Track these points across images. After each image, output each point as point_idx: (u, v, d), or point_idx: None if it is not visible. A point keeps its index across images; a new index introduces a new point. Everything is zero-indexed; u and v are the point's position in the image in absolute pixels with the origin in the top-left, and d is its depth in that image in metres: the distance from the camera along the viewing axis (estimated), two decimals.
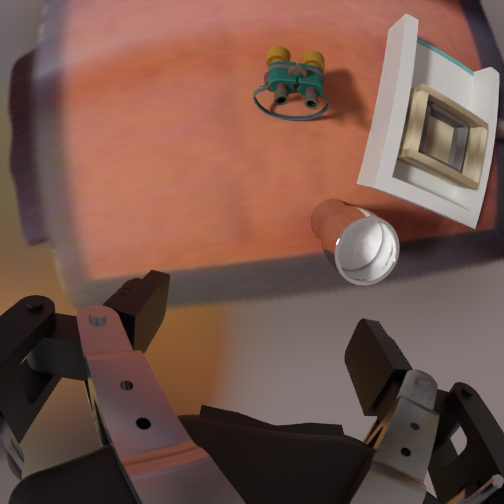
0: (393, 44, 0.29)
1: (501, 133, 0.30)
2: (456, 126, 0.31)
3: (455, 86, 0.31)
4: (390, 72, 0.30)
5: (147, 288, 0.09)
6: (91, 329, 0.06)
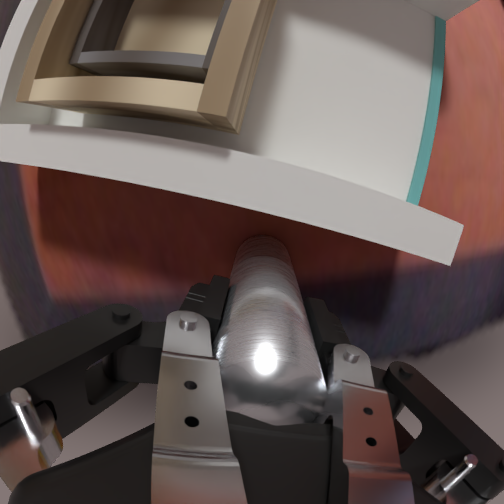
0: None
1: (237, 270, 0.13)
2: None
3: (357, 120, 0.14)
4: None
5: (218, 293, 0.10)
6: (187, 334, 0.07)
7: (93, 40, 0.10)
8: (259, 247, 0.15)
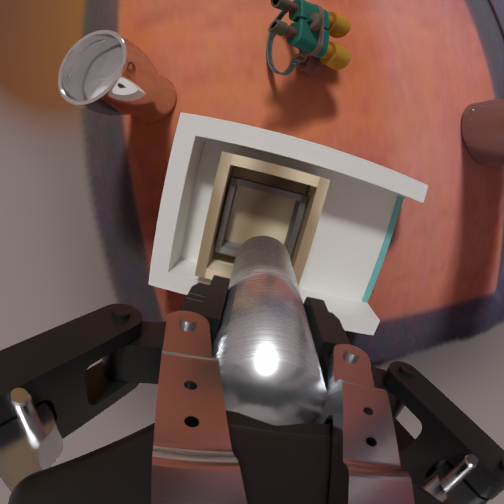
0: None
1: (237, 270, 0.13)
2: None
3: (341, 267, 0.34)
4: None
5: (218, 293, 0.10)
6: (188, 334, 0.07)
7: (223, 237, 0.30)
8: (259, 247, 0.15)
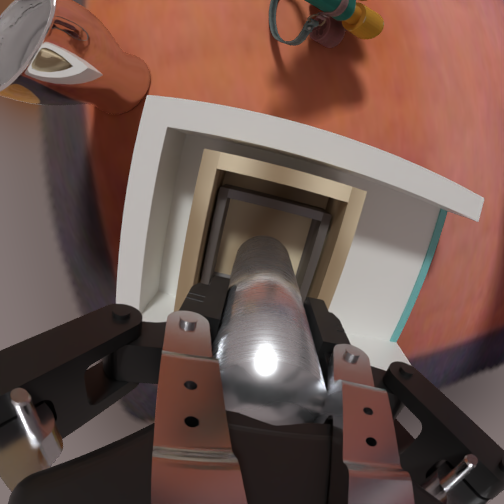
0: None
1: (237, 270, 0.13)
2: None
3: (368, 302, 0.26)
4: None
5: (218, 293, 0.10)
6: (188, 334, 0.07)
7: (211, 271, 0.21)
8: (259, 247, 0.15)
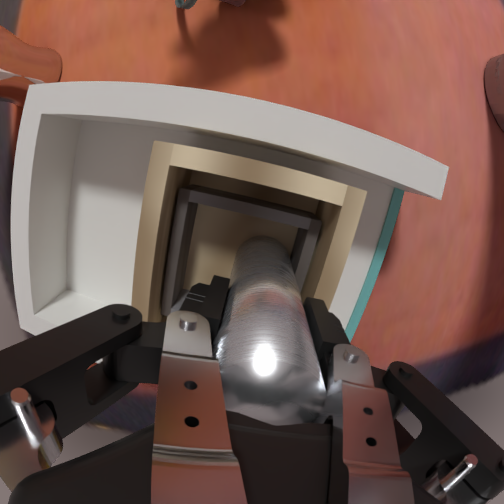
0: None
1: (237, 270, 0.13)
2: None
3: None
4: None
5: (218, 293, 0.10)
6: (188, 334, 0.07)
7: (175, 290, 0.17)
8: (259, 247, 0.15)
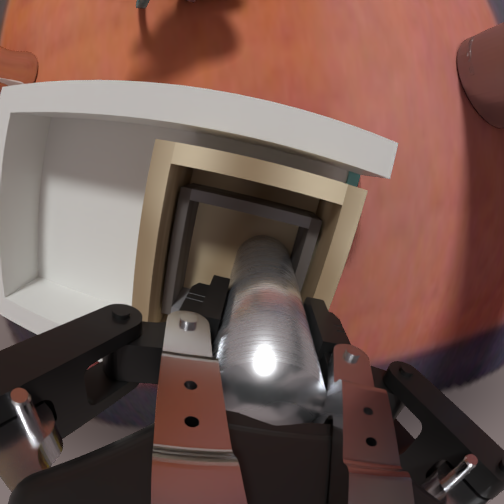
0: None
1: (237, 270, 0.13)
2: None
3: None
4: None
5: (219, 293, 0.10)
6: (188, 334, 0.07)
7: (176, 289, 0.17)
8: (259, 247, 0.15)
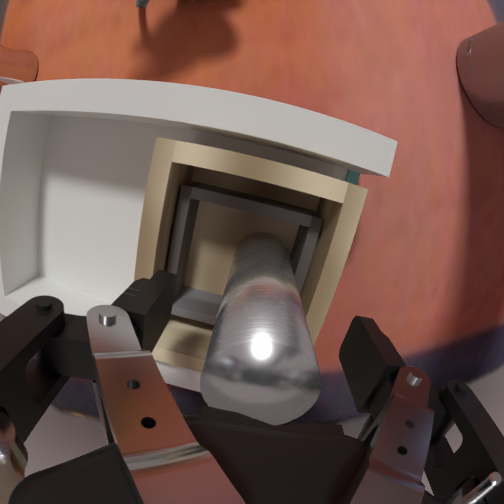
0: None
1: (236, 264, 0.14)
2: None
3: None
4: None
5: (155, 288, 0.09)
6: (101, 329, 0.06)
7: (176, 287, 0.17)
8: (257, 243, 0.16)
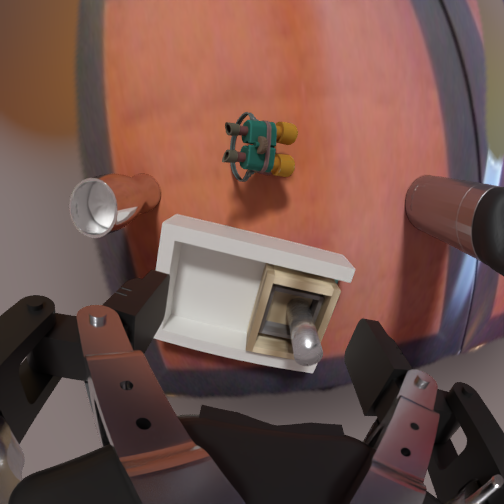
0: (320, 253, 0.41)
1: (293, 316, 0.39)
2: None
3: None
4: (284, 246, 0.40)
5: (147, 288, 0.09)
6: (91, 329, 0.06)
7: None
8: (299, 305, 0.41)
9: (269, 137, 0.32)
